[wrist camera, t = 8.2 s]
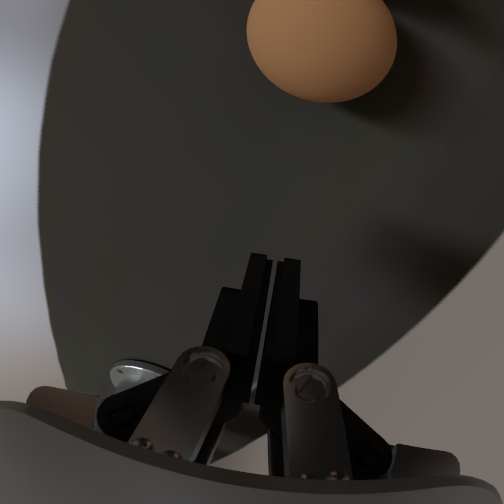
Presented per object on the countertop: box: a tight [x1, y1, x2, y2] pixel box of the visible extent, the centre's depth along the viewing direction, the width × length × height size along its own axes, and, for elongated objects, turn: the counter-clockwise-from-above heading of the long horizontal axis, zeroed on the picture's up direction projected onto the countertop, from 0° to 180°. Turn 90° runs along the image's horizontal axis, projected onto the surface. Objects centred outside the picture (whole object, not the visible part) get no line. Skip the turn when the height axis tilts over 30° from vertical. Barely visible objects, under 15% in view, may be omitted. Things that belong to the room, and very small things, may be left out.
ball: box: [247, 0, 397, 103], centre depth 10 cm, size 6×6×6 cm
